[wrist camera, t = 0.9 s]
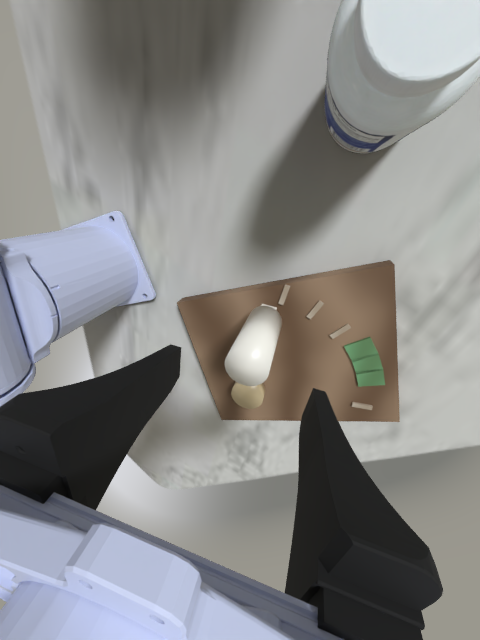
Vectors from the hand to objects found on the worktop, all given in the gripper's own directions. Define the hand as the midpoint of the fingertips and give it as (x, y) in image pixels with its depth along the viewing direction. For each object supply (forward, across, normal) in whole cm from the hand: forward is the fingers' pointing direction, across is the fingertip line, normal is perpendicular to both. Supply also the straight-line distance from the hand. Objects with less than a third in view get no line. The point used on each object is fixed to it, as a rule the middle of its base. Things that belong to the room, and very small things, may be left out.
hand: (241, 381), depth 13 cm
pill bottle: (+10, -3, -14) cm, 18 cm away
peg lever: (+8, 0, +4) cm, 9 cm away
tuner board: (+10, -2, +4) cm, 11 cm away
